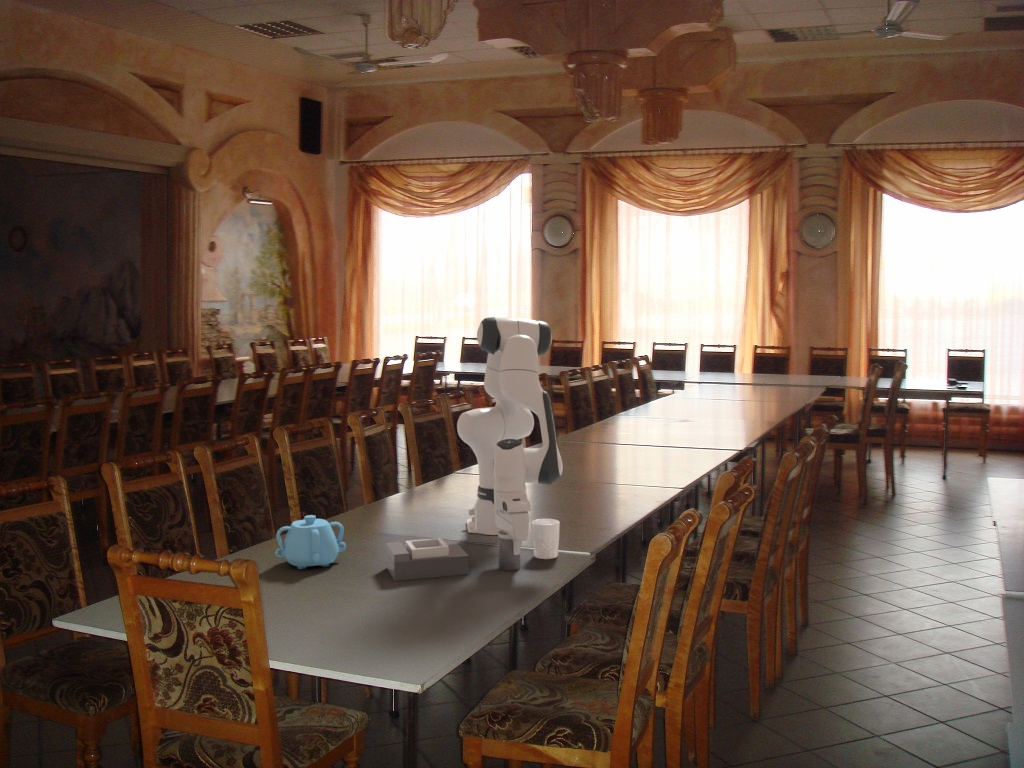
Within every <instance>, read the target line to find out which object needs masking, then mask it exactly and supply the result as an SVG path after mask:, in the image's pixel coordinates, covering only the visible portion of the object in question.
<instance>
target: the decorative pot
mask: <svg viewBox="0 0 1024 768" xmlns="http://www.w3.org/2000/svg"><path fill="white" fill-rule="evenodd" d="M335 526H337V527H339V534H338V537H336V533H335V531H334V530H333V527H335ZM283 531H287V533H286V536H285V539H284V543H283V541H282V537H281V534H282V532H283ZM344 532H345V528H344V526H343V524H342V523H340V522H338V521H332V522H329V521H328V520H326V519H323V518H316V515H315V514H314V515H313V514H310V515H309V514H307V515H305V516H304V517H303V519H299V520H294V521H293V522H292V523H291V524H290V526H289V525H286V526H282V527H280V528H279V529H278V530H277V532H276V535H275V536H276V537H275V538H276V541H277V543H278V545H279V547H278V548H277V549H276V550H275V552H274V554H275V556H276V557H277V558H279V559H281V558H284V559H285V560H286V561H287V562H288V564H290V565H291V566H295V567H296V569H298V570H304V569H305V570H306V569H307V567H315V566H320V567H329V566H330V564H332V563H334V562H335V560H336V558H337V557H338V554H339V552H344V551H345V550H346V548H347V545H346V543H345V542H344V541H342V539H343V537H344ZM341 545H342V547H340V546H341ZM280 551H281V553H279V552H280Z"/></svg>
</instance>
